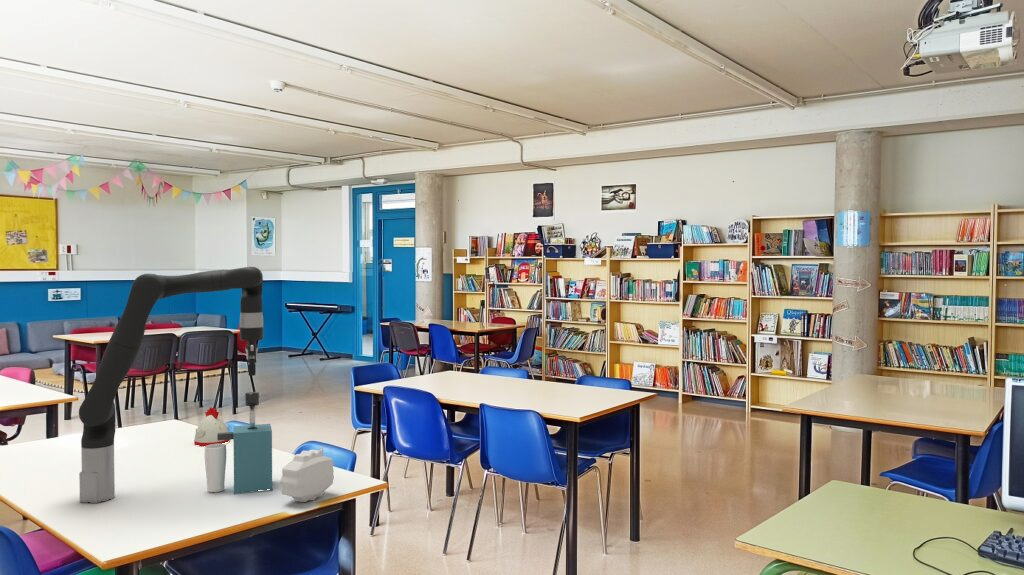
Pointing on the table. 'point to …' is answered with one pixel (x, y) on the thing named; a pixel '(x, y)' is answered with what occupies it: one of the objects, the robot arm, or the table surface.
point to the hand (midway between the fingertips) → (251, 373)
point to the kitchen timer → (210, 429)
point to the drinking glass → (215, 466)
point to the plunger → (252, 406)
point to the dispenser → (251, 457)
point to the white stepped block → (307, 475)
